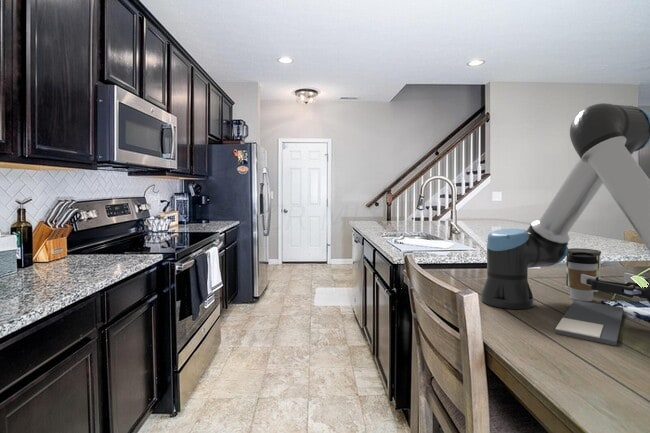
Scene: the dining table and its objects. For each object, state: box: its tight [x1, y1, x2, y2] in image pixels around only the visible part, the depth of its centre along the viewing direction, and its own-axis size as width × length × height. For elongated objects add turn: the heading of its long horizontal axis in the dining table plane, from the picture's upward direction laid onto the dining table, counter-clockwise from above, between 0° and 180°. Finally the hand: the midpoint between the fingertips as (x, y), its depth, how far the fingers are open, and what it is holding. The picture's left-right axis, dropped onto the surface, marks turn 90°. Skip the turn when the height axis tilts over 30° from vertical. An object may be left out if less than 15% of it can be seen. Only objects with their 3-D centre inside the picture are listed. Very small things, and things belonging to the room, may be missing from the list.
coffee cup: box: [567, 252, 598, 302], centre depth 119 cm, size 8×8×15 cm
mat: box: [554, 299, 624, 346], centre depth 98 cm, size 32×12×1 cm, turn 138°
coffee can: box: [565, 247, 602, 293], centre depth 131 cm, size 10×10×14 cm
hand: (603, 277), depth 110 cm, fingers open, 13 cm apart
